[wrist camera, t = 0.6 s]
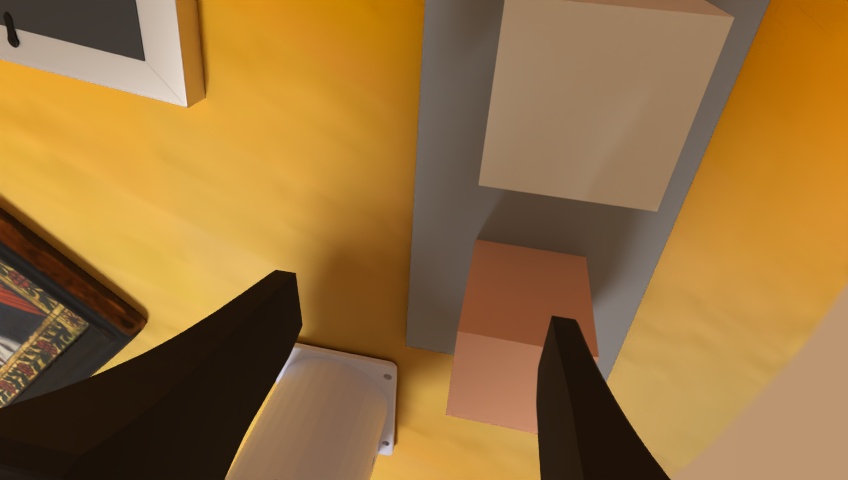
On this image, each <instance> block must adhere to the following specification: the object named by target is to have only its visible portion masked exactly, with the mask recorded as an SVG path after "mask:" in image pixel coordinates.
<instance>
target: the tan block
mask: <svg viewBox="0 0 848 480" xmlns="http://www.w3.org/2000/svg"><path fill="white" fill-rule="evenodd" d="M734 18H735V17H733V16H731V15H730V14H728V13H726V12H724V11H723V10H721V9H719V8H717V7H716V6H714V5H712V4H710V3H709V2H707V1H705V0H505V2H504V9H503V16H502V23H501V30H500V37H499V44H498V51H497V58H496V65H495V72H494V79H493V86H492V93H491V100H490V107H489V114H488V121H487V128H486V135H485V142H484V149H483V156H482V163H481V170H480V177H479V184H478V185H480V186H486V187H493V188H500V189H507V190H513V191H520V192H527V193H534V194H541V195H547V196H554V197H561V198H568V199H574V200H581V201H588V202H595V203H601V204H608V205H615V206H622V207H628V208H635V209H642V210H649V211H655V212H657V211H658V208H659V206H660V203H661V201H662V198H663V196H664V193H665V191H666V188H667V186H668V183H669V181H670V178H671V176H672V173H673V171H674V168H675V166H676V163H677V161H678V158H679V156H680V153H681V151H682V148H683V146H684V143H685V140H686V138H687V135H688V133H689V130H690V128H691V125H692V123H693V120H694V118H695V115H696V113H697V110H698V108H699V105H700V103H701V100H702V98H703V95H704V93H705V90H706V88H707V85H708V83H709V80H710V78H711V75H712V73H713V70H714V68H715V65H716V63H717V60H718V58H719V55H720V53H721V50H722V48H723V45H724V43H725V40H726V38H727V35H728V33H729V30H730V28H731V25H732V23H733V20H734Z"/></svg>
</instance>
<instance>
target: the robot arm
mask: <svg viewBox="0 0 848 480" xmlns="http://www.w3.org/2000/svg"><path fill="white" fill-rule="evenodd" d="M302 325H303V324H302V317H301V309H300V302H299V294H298V287H297V279H296V273H292V272H286V271H280V270H275V271H273V272H272V273H270V274H269V275H267V276H266V277H264V278H263V279H262V280H260V281H259V282H257V283H256V284H255V285H253V286H252V287H250V288H249V289H248V290H246V291H245V292H243V293H242V294H240V295H239V296H238V297H236V298H235V299H233V300H232V301H230V302H229V303H227V304H226V305H224V306H223V307H222V308H220V309H219V310H217V311H216V312H214V313H213V314H211V315H209V316H208V317H206V318H205V319H203V320H201V321H200V322H198V323H197V324H195V325H193V326H192V327H190V328H189V329H187V330H185V331H184V332H182V333H180V334H179V335H177V336H175V337H173V338H172V339H170V340H168V341H166V342H164V343H162V344H160V345H159V346H157V347H155V348H153V349H151V350H149V351H147V352H145V353H143V354H141V355H139V356H137V357H135V358H132V359H130V360H128V361H126V362H124V363H121V364H119V365H117V366H115V367H113V368H110V369H108V370H106V371H104V372H101V373H99V374H97V375H94V376H92V377H89V378H87V379H84V380H82V381H79V382H76V383H74V384H71V385H68V386H66V387H63V388H60V389H57V390H55V391H52V392H49V393H46V394H43V395H40V396H37V397H34V398H30V399H27V400H24V401H21V402H18V403H15V404H11V405H8V406H5V407H2V408H0V480H370V478H371V475H372V471H373V468H374V465H375V461H376V458H377V455H378V454H383V455H391V454H392V453H393V450H394V433H395V410H396V387H397V366H396V365H395V364H394V363H393V362H390V361H385V360H380V359H375V358H370V357H365V356H360V355H355V354H350V353H345V352H340V351H335V350H330V349H325V348H320V347H315V346H309V345H304V344H299V343H296V340H297V338H298V335H299V333H300V330H301V328H302ZM275 381H276V382H277V386H276V388H275V390H274V391H273V393H272V395H271V397H270V399H269V400H268V402H267V404H266V406H265V408H264V410H263V411H262V413H261V415H260V417H259V419H258V420H257V422H256V424H255V426H254V428H253V430H252V431H251V433H250V435H249V437H248V439H247V440H246V442H245V444H244V446H243V448H242V449H241V451H240V453H239V455H238V457H237V459H236V460H235V462H234V464H233V466H232V468H231V469H230V471H229V473H228V470H229V468H230V466H231V464H232V461H233V459H234V457H235V455H236V453H237V451H238V448H239V446H240V444H241V442H242V440H243V437H244V435H245V434H246V432H247V430H248V428H249V426H250V424H251V422H252V421H253V419H254V417H255V415H256V414H257V412H258V410H259V409H260V407H261V405H262V403H263V402H264V400H265V398H266V397H267V395H268V393H269V391H270V390H271V388H272V386H273V385H274V383H275ZM536 411H537V428H538V443H539V459H540V474H541V480H671V479H670V478H669V477H668V476H667V475H666V473H665V472H664V471H663V469H662V468H661V467H660V465H659V464H658V463H657V461H656V460H655V459H654V457H653V456H652V455H651V453H650V452H649V451H648V449H647V448H646V446H645V445H644V443H643V442H642V441H641V439H640V438H639V436H638V435H637V433H636V432H635V430H634V429H633V427H632V426H631V424H630V423H629V421H628V420H627V418H626V416H625V415H624V413H623V411H622V410H621V408H620V406H619V405H618V403H617V401H616V400H615V398H614V396H613V394H612V393H611V391H610V389H609V387H608V385H607V383H606V382H605V380H604V378H603V376H602V374H601V372H600V370H599V368H598V366H597V364H596V362H595V360H594V358H593V356H592V354H591V352H590V350H589V347H588V345H587V343H586V341H585V338H584V336H583V333H582V331H581V328H580V326H579V323H578V322H577V321H576V319H571V318H565V317H558V316H552V317H551V321H550V324H549V328H548V332H547V335H546V339H545V343H544V347H543V350H542V354H541V358H540V361H539V365H538V374H537V393H536ZM227 473H228V475H227ZM226 475H227V477H226ZM225 477H226V479H225Z"/></svg>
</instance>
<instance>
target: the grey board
mask: <svg viewBox="0 0 848 480" xmlns="http://www.w3.org/2000/svg"><path fill="white" fill-rule="evenodd" d="M705 1H707V2H709V3H710V4H712V5H714V6H716V7H717V8H719V9H721V10H723V11H724V12H726V13H728V14H730V15H731V16H733V17H735V18H734V20H733V23H732V25H731V28H730V30H729V33H728V35H727V38H726V40H725V43H724V45H723V48H722V50H721V53H720V55H719V58H718V60H717V63H716V65H715V68H714V70H713V73H712V75H711V78H710V80H709V83H708V85H707V88H706V90H705V93H704V95H703V98H702V100H701V103H700V105H699V108H698V110H697V113H696V115H695V118H694V120H693V123H692V125H691V128H690V130H689V133H688V135H687V138H686V140H685V143H684V146H683V148H682V151H681V153H680V156H679V158H678V161H677V163H676V166H675V168H674V171H673V173H672V176H671V178H670V181H669V183H668V186H667V188H666V191H665V193H664V196H663V198H662V201H661V203H660V206H659V208H658V211H657V212H655V211H649V210H642V209H635V208H628V207H622V206H615V205H608V204H601V203H595V202H588V201H581V200H574V199H568V198H561V197H554V196H547V195H541V194H534V193H527V192H520V191H513V190H507V189H500V188H493V187H486V186H480V185H478V184H479V177H480V170H481V163H482V156H483V149H484V142H485V135H486V128H487V121H488V114H489V107H490V100H491V93H492V86H493V79H494V72H495V65H496V58H497V51H498V44H499V37H500V30H501V23H502V16H503V9H504V2H505V0H425V12H424V30H423V48H422V65H421V83H420V101H419V119H418V136H417V154H416V172H415V190H414V207H413V225H412V243H411V261H410V278H409V296H408V314H407V332H406V346H409V347H414V348H419V349H425V350H430V351H435V352H440V353H445V354H450V355H454V353H455V346H456V339H457V332H458V327H459V321H460V316H461V311H462V306H463V301H464V296H465V291H466V286H467V280H468V275H469V270H470V265H471V260H472V255H473V250H474V245H475V239H478V240H484V241H490V242H496V243H503V244H509V245H515V246H521V247H527V248H533V249H540V250H546V251H552V252H558V253H564V254H570V255H577V256H583V257H586V261H587V269H588V277H589V284H590V292H591V300H592V307H593V315H594V323H595V330H596V338H597V346H598V354H599V359H598V361H597V366H598V368H599V370H600V372H601V374H602V376H603V378H604V380H605V382H606V381H607V379H608V377H609V374H610V372H611V370H612V367H613V365H614V363H615V360H616V358H617V356H618V353H619V351H620V349H621V346H622V344H623V342H624V339H625V337H626V335H627V333H628V330H629V328H630V326H631V323H632V321H633V319H634V316H635V314H636V312H637V309H638V307H639V305H640V302H641V300H642V298H643V295H644V293H645V291H646V288H647V286H648V284H649V281H650V279H651V277H652V274H653V272H654V270H655V267H656V265H657V263H658V260H659V258H660V256H661V253H662V251H663V249H664V246H665V244H666V242H667V239H668V237H669V235H670V232H671V230H672V228H673V225H674V223H675V221H676V219H677V216H678V214H679V212H680V209H681V207H682V205H683V202H684V200H685V198H686V195H687V193H688V191H689V188H690V186H691V184H692V181H693V179H694V177H695V174H696V172H697V170H698V167H699V165H700V163H701V160H702V158H703V156H704V153H705V151H706V149H707V146H708V144H709V142H710V139H711V137H712V135H713V132H714V130H715V128H716V125H717V123H718V121H719V118H720V116H721V114H722V111H723V109H724V107H725V104H726V102H727V100H728V98H729V95H730V93H731V91H732V88H733V86H734V84H735V81H736V79H737V77H738V74H739V72H740V70H741V67H742V65H743V63H744V60H745V58H746V56H747V53H748V51H749V49H750V46H751V44H752V42H753V39H754V37H755V35H756V32H757V30H758V28H759V25H760V23H761V21H762V18H763V16H764V14H765V11H766V9H767V7H768V4H769V2H770V0H705Z"/></svg>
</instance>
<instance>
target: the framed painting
mask: <svg viewBox="0 0 848 480" xmlns="http://www.w3.org/2000/svg"><path fill="white" fill-rule="evenodd" d="M145 324H146V321H145V319H144V317H143V316H142V315H141V314H140V313H138V312H137V311H136V310H135V309H134V308H132V307H131V306H130V305H128V304H127V303H126V302H125V301H123V300H122V299H121V298H119V297H118V296H117V295H115V294H114V293H113V292H112V291H110V290H109V289H108V288H106V287H105V286H104V285H102V284H101V283H100V282H98V281H97V280H96V279H94V278H93V277H92V276H90V275H89V274H88V273H86V272H85V271H84V270H82V269H81V268H80V267H78V266H77V265H76V264H74V263H73V262H72V261H71V260H69V259H68V258H67V257H65V256H64V255H63V254H61V253H60V252H59V251H57V250H56V249H55V248H53V247H52V246H51V245H49V244H48V243H47V242H45V241H44V240H43V239H41V238H40V237H39V236H37V235H36V234H35V233H34V232H32V231H31V230H30V229H28V228H27V227H26V226H24V225H23V224H22V223H20V222H19V221H18V220H16V219H15V218H14V217H12V216H11V215H10V214H8V213H7V212H6V211H4V210H3V209H2V208H0V408H2V407H5V406H8V405H11V404H15V403H18V402H21V401H24V400H27V399H30V398H34V397H37V396H40V395H43V394H46V393H49V392H52V391H55V390H57V389H60V388H63V387H66V386H68V385H71V384H74V383H76V382H79V381H82V380H84V379H87V378H89V377H91V376H92V375H93V374H94V373H96V372H97V371H98V370H99V369H100V368H101V367H102V366H104V365H105V364H106V363H107V362H108V361H109V360H111V359H112V358H113V357H114V356H115V355H116V354H117V353H119V352H120V351H121V350H122V349H123V348H124V347H125V346H126V345H127V344H128V343H130V342H131V341H132V340H133V339H134V338H135V337H136V336H137V335H138V334H139V333H140V331H142V329H143V328H144V327H145Z"/></svg>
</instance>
